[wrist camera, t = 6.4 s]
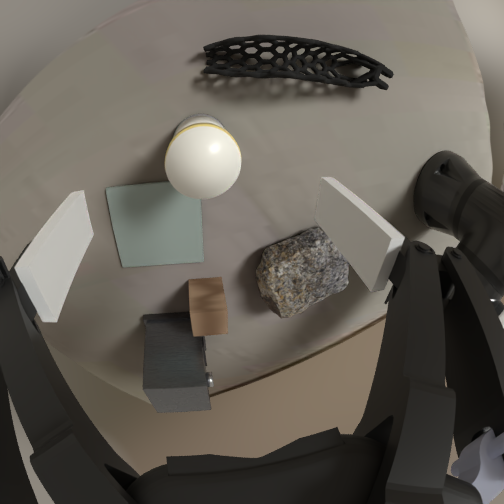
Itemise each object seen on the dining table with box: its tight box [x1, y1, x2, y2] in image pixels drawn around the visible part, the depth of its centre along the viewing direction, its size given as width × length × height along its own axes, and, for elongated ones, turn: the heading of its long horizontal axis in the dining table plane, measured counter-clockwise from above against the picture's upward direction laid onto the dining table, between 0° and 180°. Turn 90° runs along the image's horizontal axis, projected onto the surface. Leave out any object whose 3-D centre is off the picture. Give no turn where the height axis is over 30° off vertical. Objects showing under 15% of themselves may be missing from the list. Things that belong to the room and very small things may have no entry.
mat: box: [106, 181, 204, 267], centre depth 34 cm, size 12×12×1 cm
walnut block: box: [189, 277, 228, 336], centre depth 39 cm, size 5×5×7 cm
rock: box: [256, 227, 349, 318], centre depth 40 cm, size 13×6×15 cm
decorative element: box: [203, 35, 394, 90], centre depth 23 cm, size 22×5×6 cm, turn 91°
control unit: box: [143, 312, 214, 412], centre depth 40 cm, size 10×10×14 cm
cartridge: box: [165, 114, 241, 199], centre depth 25 cm, size 6×6×11 cm
